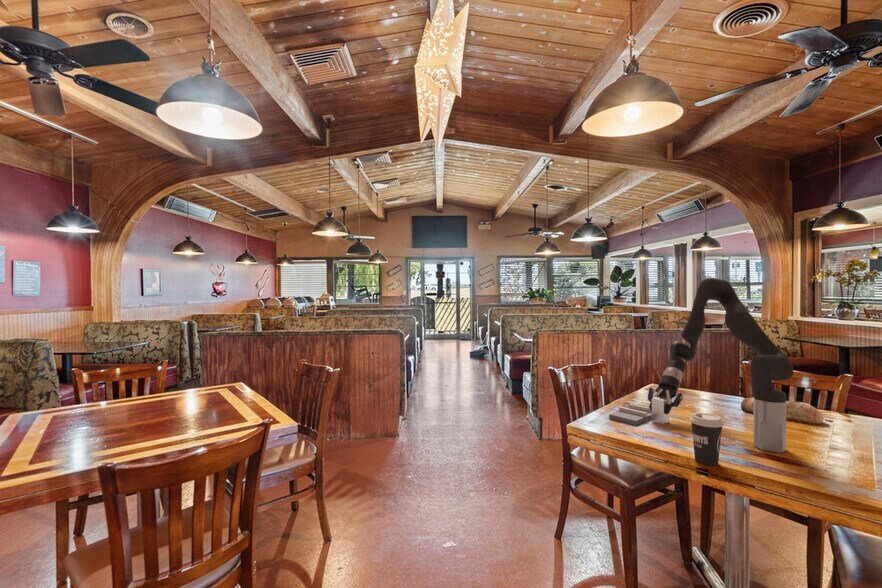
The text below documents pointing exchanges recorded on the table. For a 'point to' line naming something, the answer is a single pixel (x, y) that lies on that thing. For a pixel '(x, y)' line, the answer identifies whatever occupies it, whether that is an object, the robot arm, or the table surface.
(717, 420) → the coffee cup
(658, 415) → the block
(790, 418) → the bread loaf
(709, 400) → the table surface
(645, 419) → the plate
